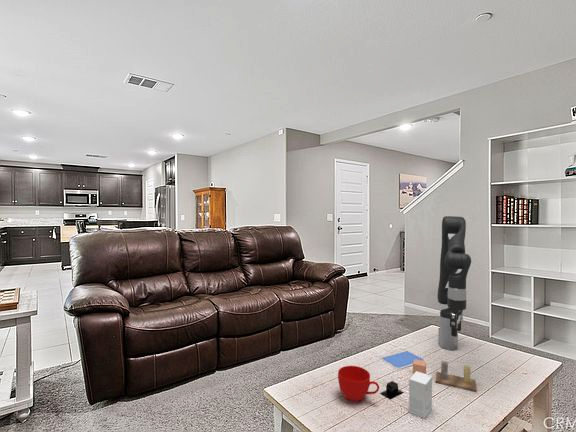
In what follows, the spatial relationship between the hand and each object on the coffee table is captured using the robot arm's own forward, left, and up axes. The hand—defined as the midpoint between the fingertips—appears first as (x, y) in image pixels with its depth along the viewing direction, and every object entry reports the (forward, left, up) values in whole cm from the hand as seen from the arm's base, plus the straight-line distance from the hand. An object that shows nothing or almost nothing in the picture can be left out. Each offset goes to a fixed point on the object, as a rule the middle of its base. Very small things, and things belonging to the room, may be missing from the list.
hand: (456, 333), depth 147 cm
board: (+1, -1, -22) cm, 22 cm away
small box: (+13, -30, -22) cm, 39 cm away
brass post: (+4, +2, -22) cm, 22 cm away
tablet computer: (-24, -10, -23) cm, 35 cm away
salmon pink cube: (-8, -13, -22) cm, 27 cm away
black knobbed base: (-1, -33, -23) cm, 40 cm away
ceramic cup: (-1, -49, -22) cm, 54 cm away
